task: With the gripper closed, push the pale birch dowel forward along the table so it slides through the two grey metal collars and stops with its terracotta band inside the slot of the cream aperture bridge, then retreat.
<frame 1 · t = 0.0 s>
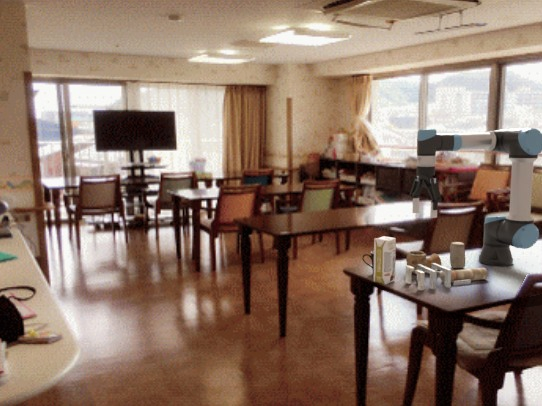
hand: (424, 215, 211), 28 cm above the table, fingers open, 13 cm apart
pipe: (423, 273, 223), on the table
dowel: (464, 281, 210), on the table
coffee mug: (377, 273, 223), on the table
juice carton: (384, 281, 211), on the table
collar rig: (434, 284, 206), on the table
carving: (457, 268, 231), on the table
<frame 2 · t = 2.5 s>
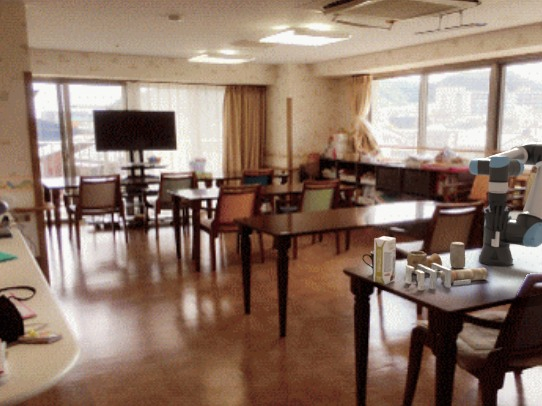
hand: (495, 246, 212), 14 cm above the table, fingers closed
nothing on the table moved.
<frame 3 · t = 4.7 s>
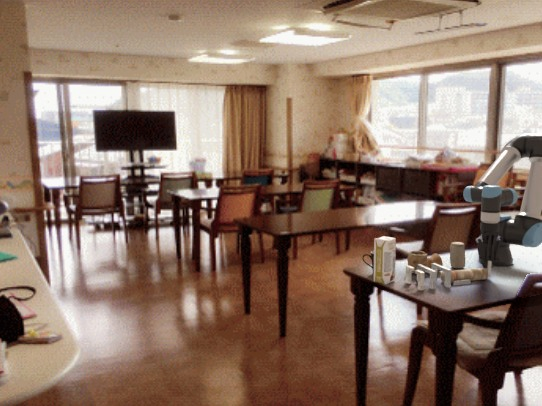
hand: (487, 275, 213), 2 cm above the table, fingers closed
dowel: (463, 281, 210), on the table, touching gripper
everything else where it was.
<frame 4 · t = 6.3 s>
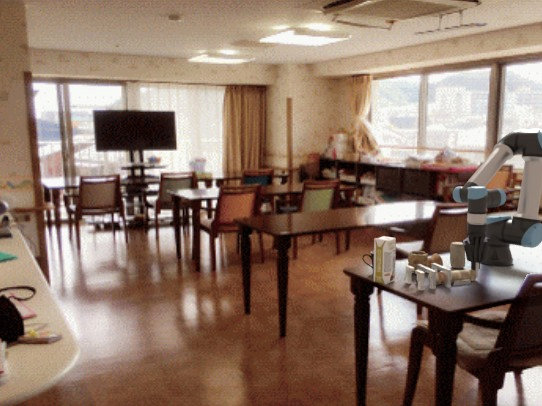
hand: (475, 277, 211), 1 cm above the table, fingers closed
dowel: (451, 282, 209), on the table, tilted 6°, touching gripper
everything else where it was.
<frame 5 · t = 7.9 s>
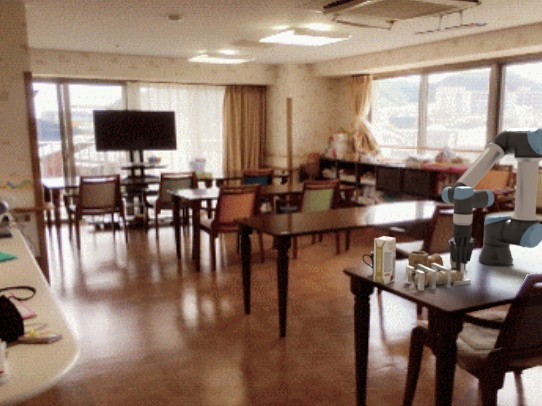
hand: (460, 277, 209), 2 cm above the table, fingers closed
dowel: (438, 283, 207), on the table, touching gripper
everything else where it was.
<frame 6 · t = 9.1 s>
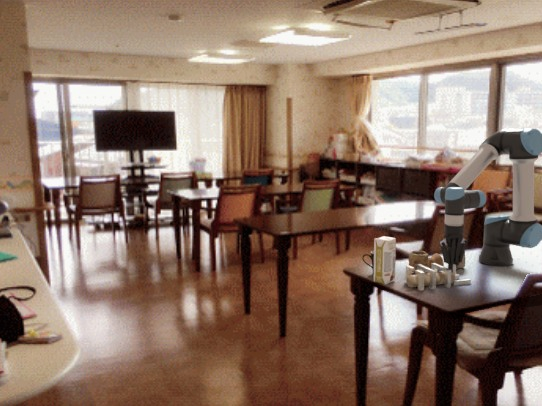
hand: (452, 279, 208), 1 cm above the table, fingers closed
dowel: (430, 284, 206), on the table, touching gripper
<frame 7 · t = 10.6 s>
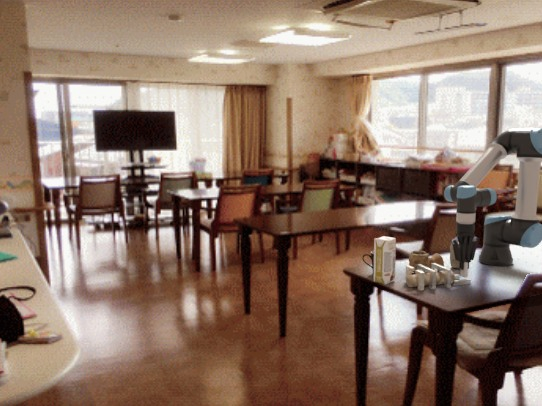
hand: (463, 276, 210), 2 cm above the table, fingers closed
dowel: (430, 284, 206), on the table
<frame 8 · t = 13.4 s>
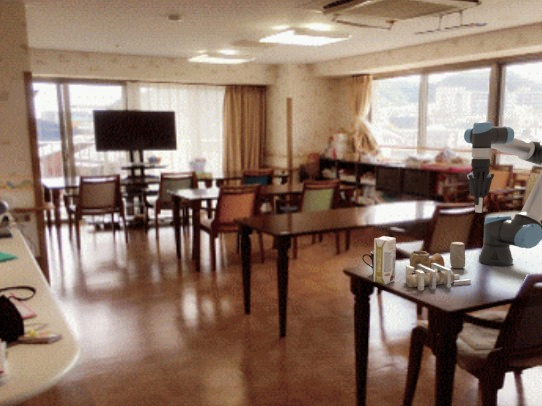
hand: (478, 212, 215), 28 cm above the table, fingers closed
at the end: dowel 1.4 cm from the target spot on the collar rig, point 0.0 cm above the collar rig's base; dowel moved 16.6 cm from its start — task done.
